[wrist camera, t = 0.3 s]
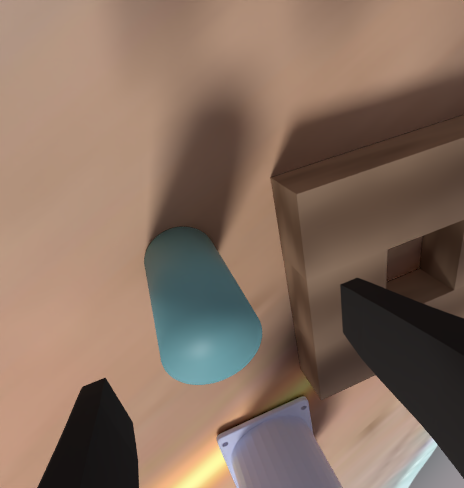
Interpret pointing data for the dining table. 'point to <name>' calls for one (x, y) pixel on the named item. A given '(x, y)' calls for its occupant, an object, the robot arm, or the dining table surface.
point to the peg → (198, 309)
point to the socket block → (370, 238)
